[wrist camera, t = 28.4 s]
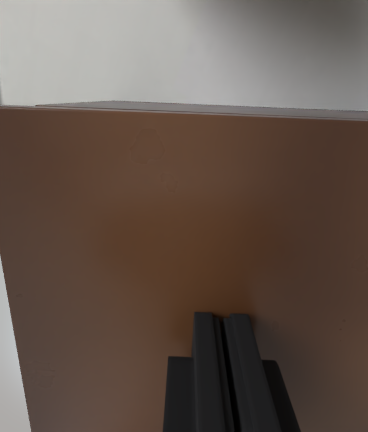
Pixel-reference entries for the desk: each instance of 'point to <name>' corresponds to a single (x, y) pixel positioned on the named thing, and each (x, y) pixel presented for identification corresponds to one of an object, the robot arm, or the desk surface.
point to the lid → (182, 256)
